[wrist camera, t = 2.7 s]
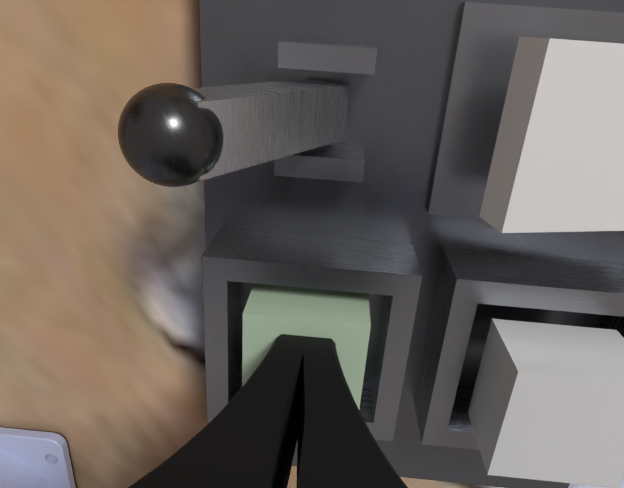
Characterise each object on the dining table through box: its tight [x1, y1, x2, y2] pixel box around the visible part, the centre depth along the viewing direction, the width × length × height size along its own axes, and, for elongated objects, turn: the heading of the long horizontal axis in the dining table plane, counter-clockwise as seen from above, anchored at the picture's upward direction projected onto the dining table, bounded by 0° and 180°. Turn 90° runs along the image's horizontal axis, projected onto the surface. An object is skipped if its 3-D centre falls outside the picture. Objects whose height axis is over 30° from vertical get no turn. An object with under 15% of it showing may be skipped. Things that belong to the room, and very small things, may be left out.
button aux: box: [468, 319, 624, 488], centre depth 11 cm, size 3×3×2 cm
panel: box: [199, 0, 624, 488], centre depth 13 cm, size 18×12×3 cm
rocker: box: [479, 37, 624, 233], centre depth 10 cm, size 4×5×1 cm
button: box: [242, 283, 371, 409], centre depth 13 cm, size 3×3×2 cm
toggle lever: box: [118, 79, 350, 187], centre depth 9 cm, size 2×2×5 cm
